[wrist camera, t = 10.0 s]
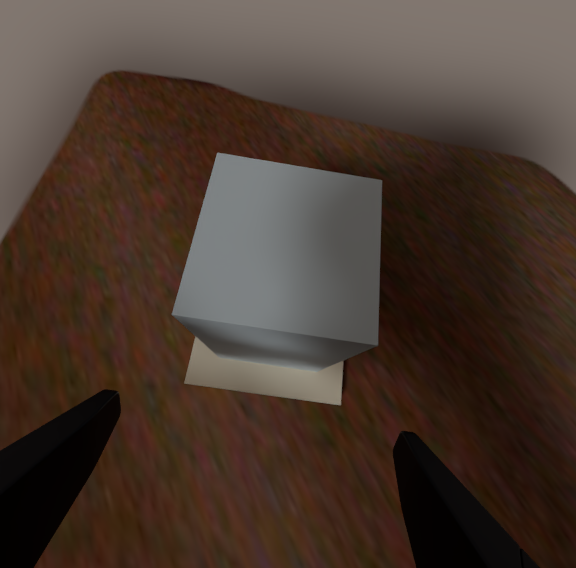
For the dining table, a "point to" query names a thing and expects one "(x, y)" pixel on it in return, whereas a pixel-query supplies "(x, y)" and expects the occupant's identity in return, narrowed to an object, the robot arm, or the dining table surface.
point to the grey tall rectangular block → (284, 265)
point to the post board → (264, 377)
